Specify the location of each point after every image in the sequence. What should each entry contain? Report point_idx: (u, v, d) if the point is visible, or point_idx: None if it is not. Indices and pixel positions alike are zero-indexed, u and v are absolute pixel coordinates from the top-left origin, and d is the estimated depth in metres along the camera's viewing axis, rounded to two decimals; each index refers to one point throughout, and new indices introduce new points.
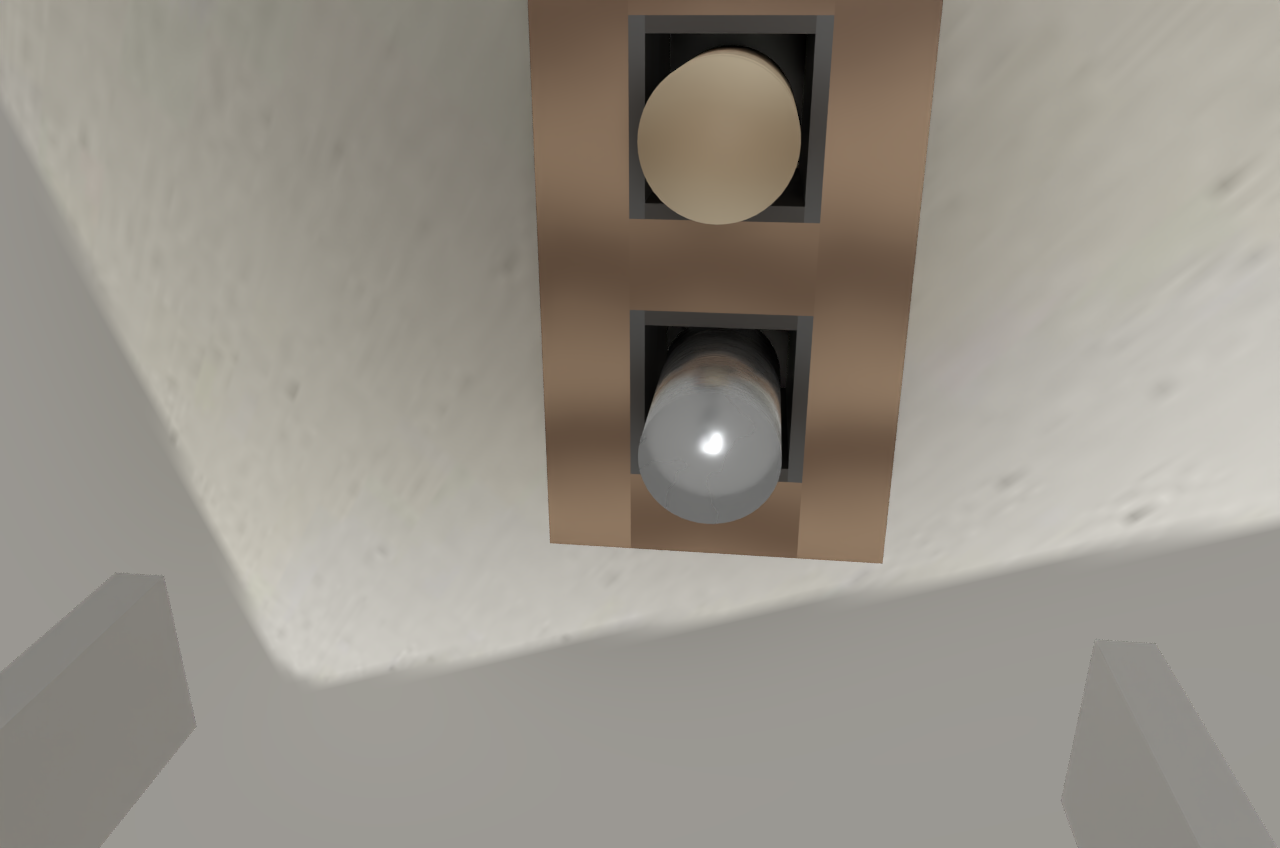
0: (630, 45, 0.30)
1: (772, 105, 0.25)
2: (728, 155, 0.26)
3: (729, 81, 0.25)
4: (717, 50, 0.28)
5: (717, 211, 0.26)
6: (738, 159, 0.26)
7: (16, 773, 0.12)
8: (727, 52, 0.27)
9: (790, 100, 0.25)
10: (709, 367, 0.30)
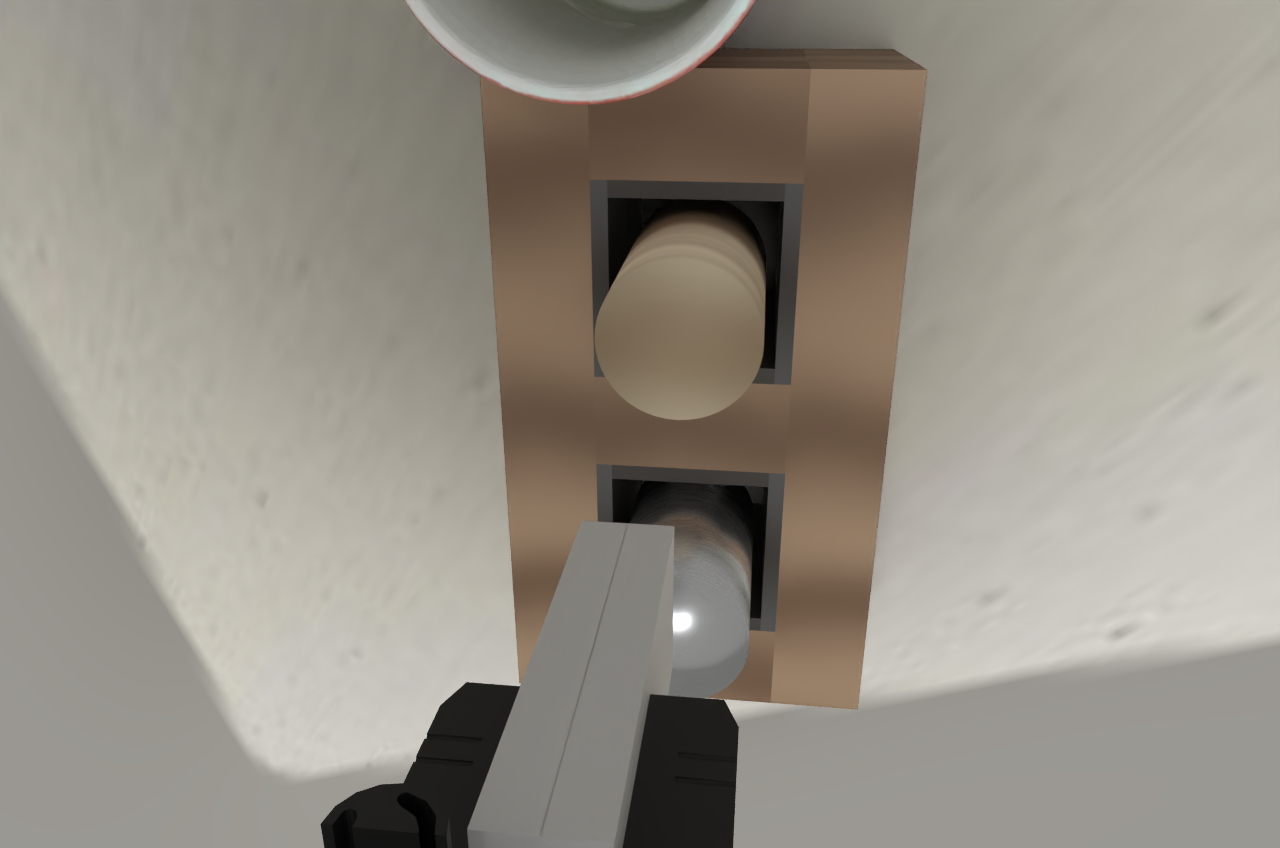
0: (592, 209, 0.29)
1: (734, 307, 0.24)
2: (689, 354, 0.25)
3: (689, 283, 0.24)
4: (681, 224, 0.27)
5: (678, 407, 0.25)
6: (699, 358, 0.25)
7: None
8: (689, 237, 0.26)
9: (752, 303, 0.24)
10: (676, 537, 0.30)
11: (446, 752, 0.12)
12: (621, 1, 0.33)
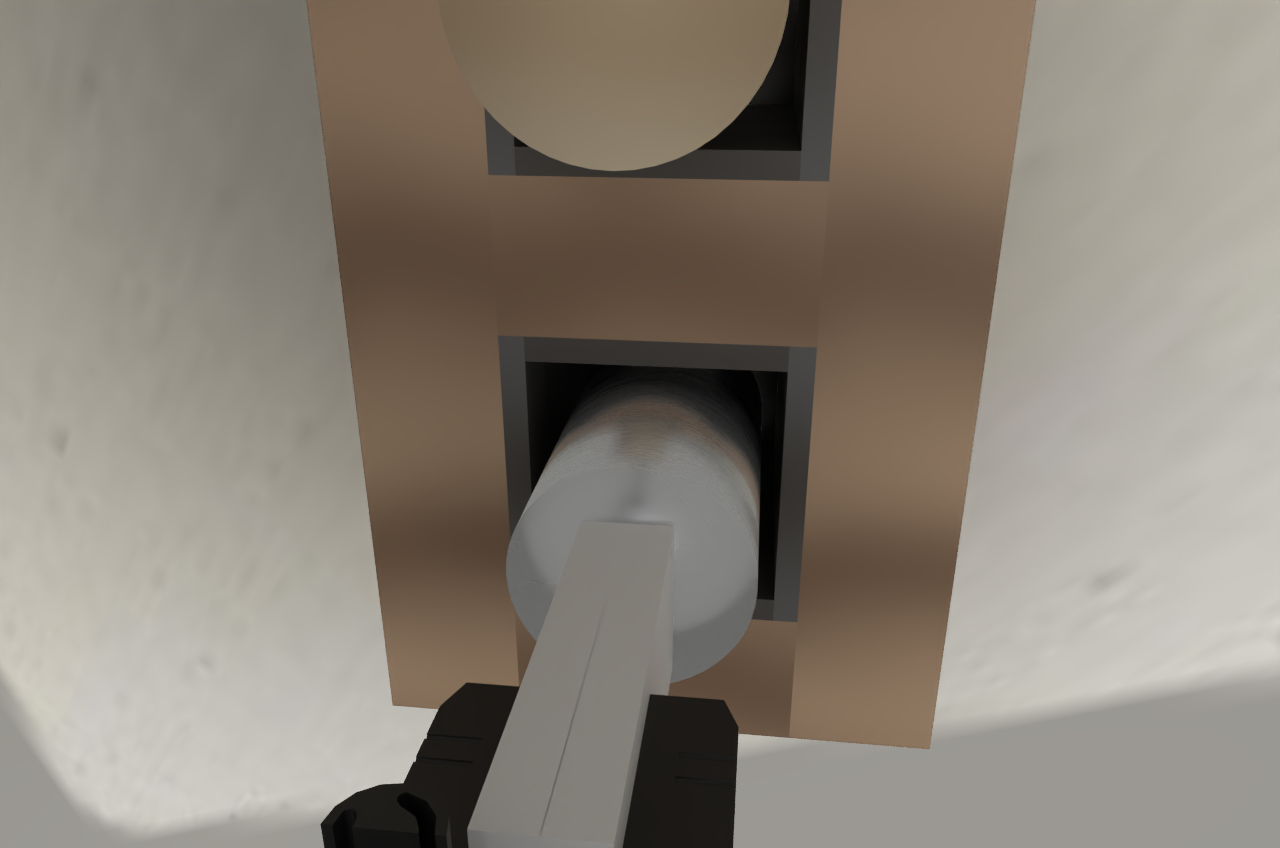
0: None
1: None
2: (633, 17, 0.12)
3: None
4: None
5: (614, 142, 0.12)
6: (655, 26, 0.12)
7: None
8: None
9: None
10: (636, 412, 0.18)
11: (446, 752, 0.12)
12: None
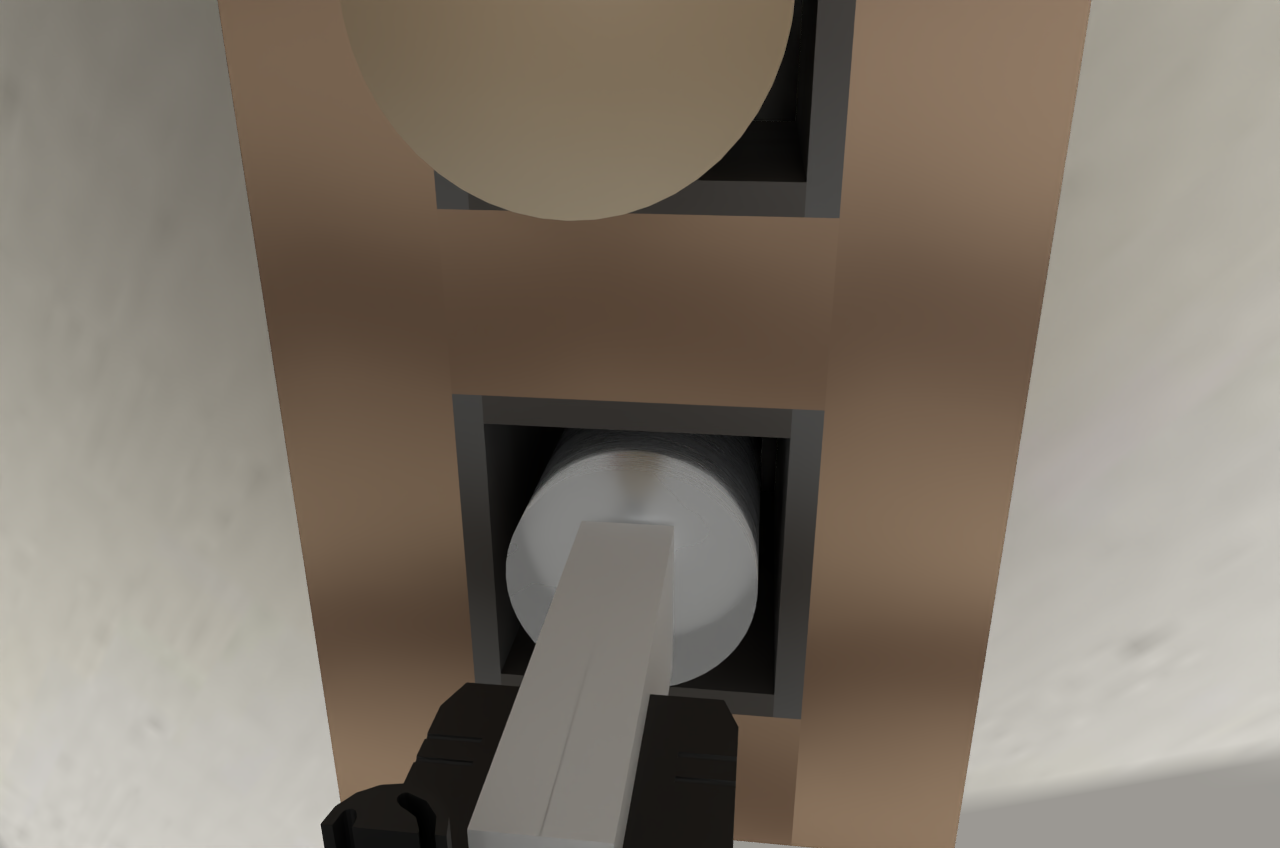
0: None
1: None
2: (591, 24, 0.09)
3: None
4: None
5: (570, 185, 0.10)
6: (620, 37, 0.09)
7: None
8: None
9: None
10: None
11: (446, 752, 0.12)
12: None
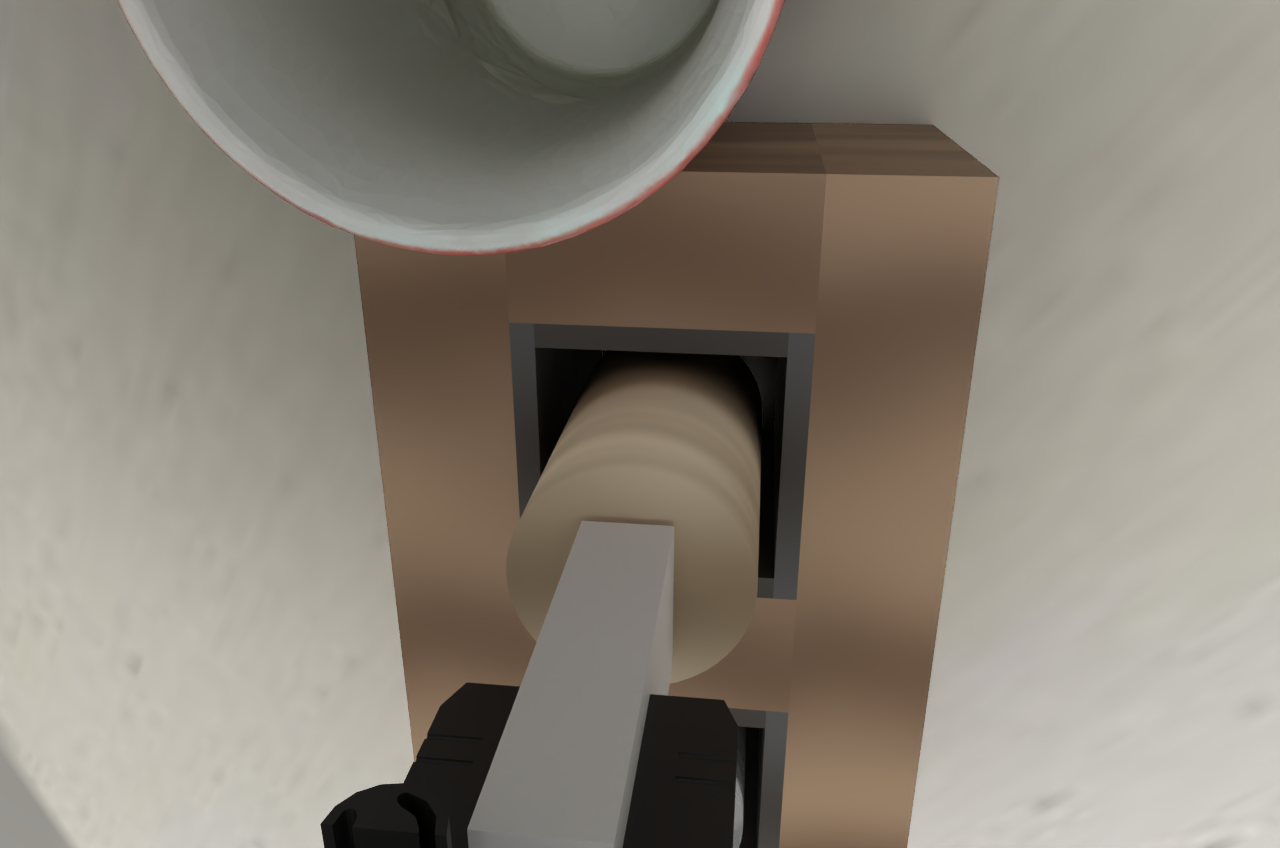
0: (514, 362, 0.20)
1: (712, 536, 0.16)
2: None
3: (644, 502, 0.16)
4: (641, 384, 0.19)
5: None
6: None
7: None
8: (649, 416, 0.18)
9: (740, 533, 0.16)
10: None
11: (446, 752, 0.12)
12: (567, 61, 0.24)
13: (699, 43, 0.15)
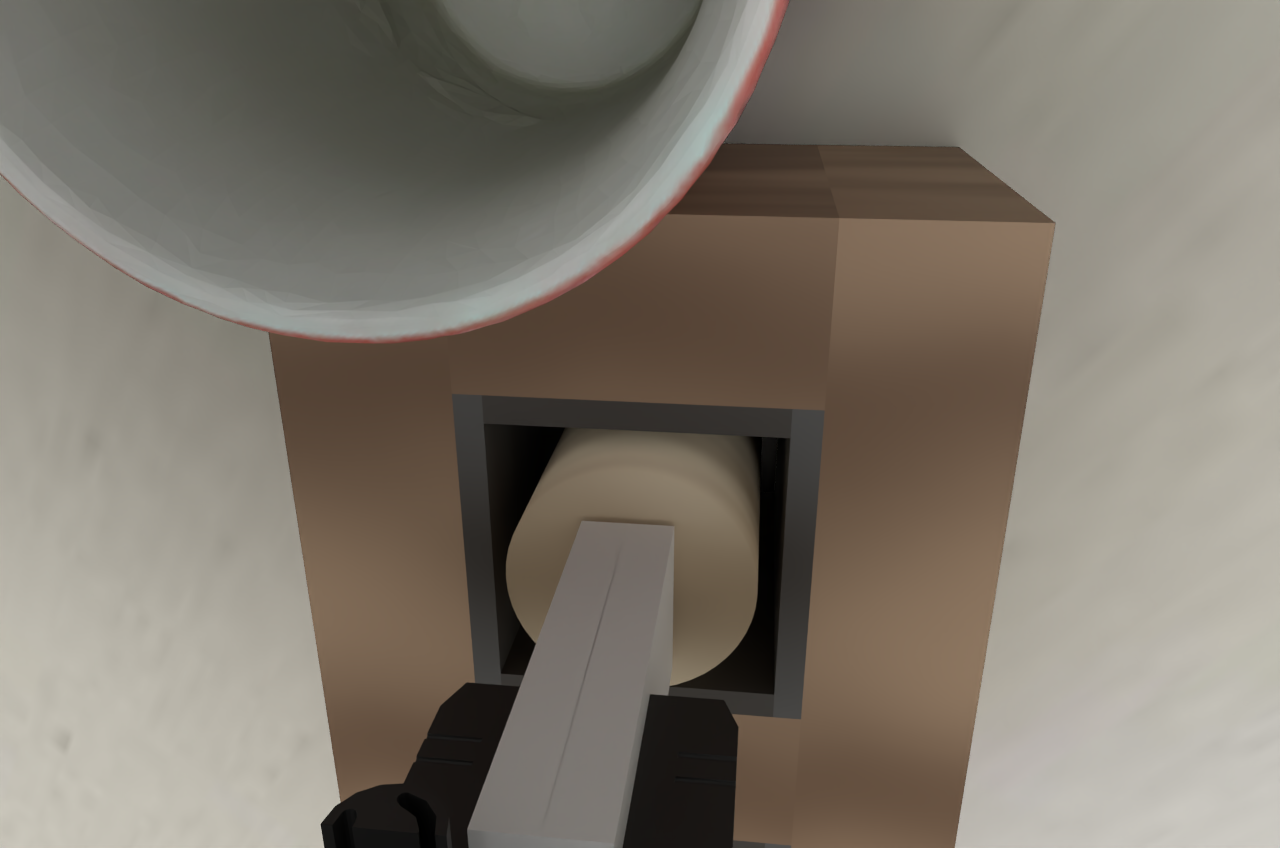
0: (459, 441, 0.17)
1: (713, 538, 0.16)
2: None
3: (644, 505, 0.16)
4: None
5: None
6: None
7: None
8: None
9: (740, 534, 0.16)
10: None
11: (446, 752, 0.12)
12: (532, 73, 0.21)
13: (677, 58, 0.12)
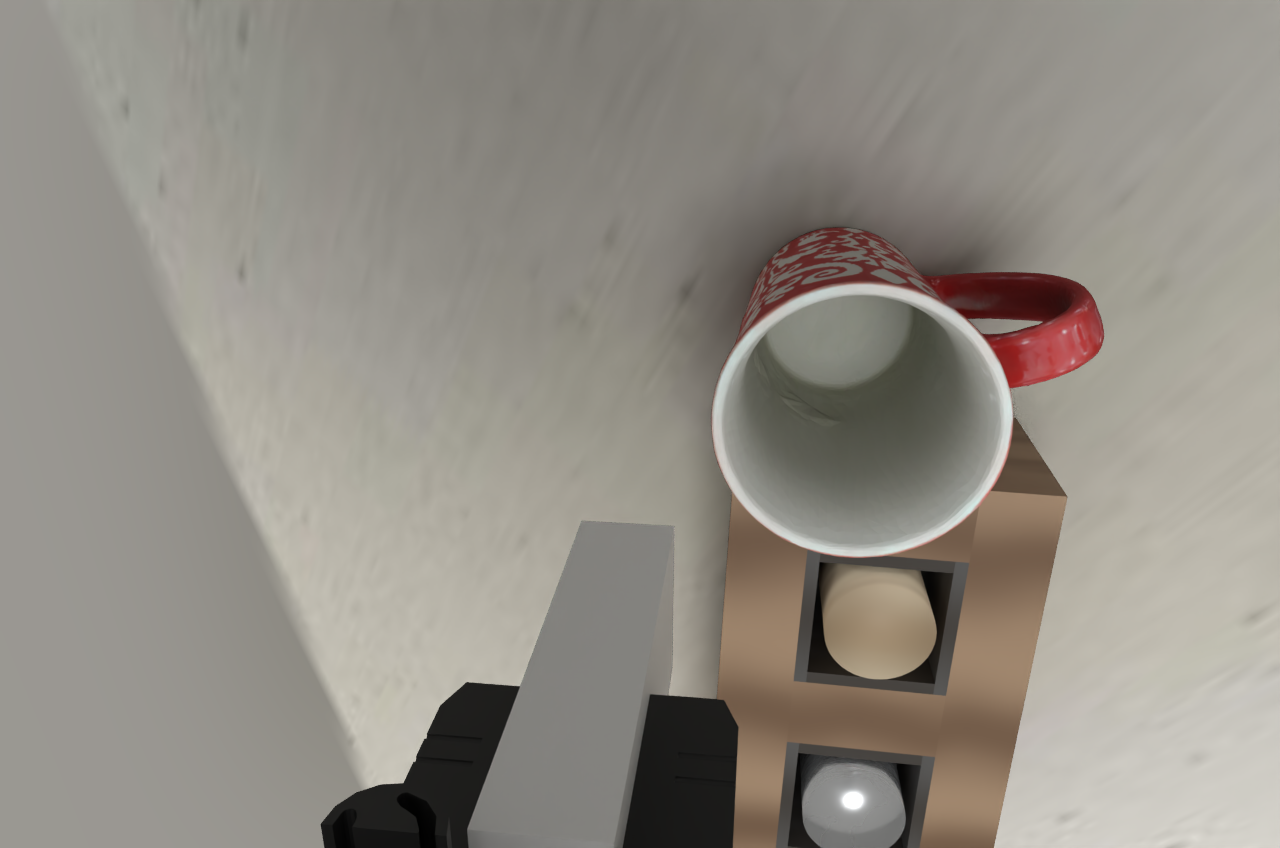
0: (807, 568, 0.38)
1: (919, 614, 0.38)
2: (886, 640, 0.38)
3: (891, 599, 0.38)
4: None
5: (875, 671, 0.39)
6: (892, 643, 0.38)
7: None
8: None
9: (931, 613, 0.38)
10: None
11: (446, 752, 0.12)
12: (810, 378, 0.43)
13: (939, 452, 0.33)
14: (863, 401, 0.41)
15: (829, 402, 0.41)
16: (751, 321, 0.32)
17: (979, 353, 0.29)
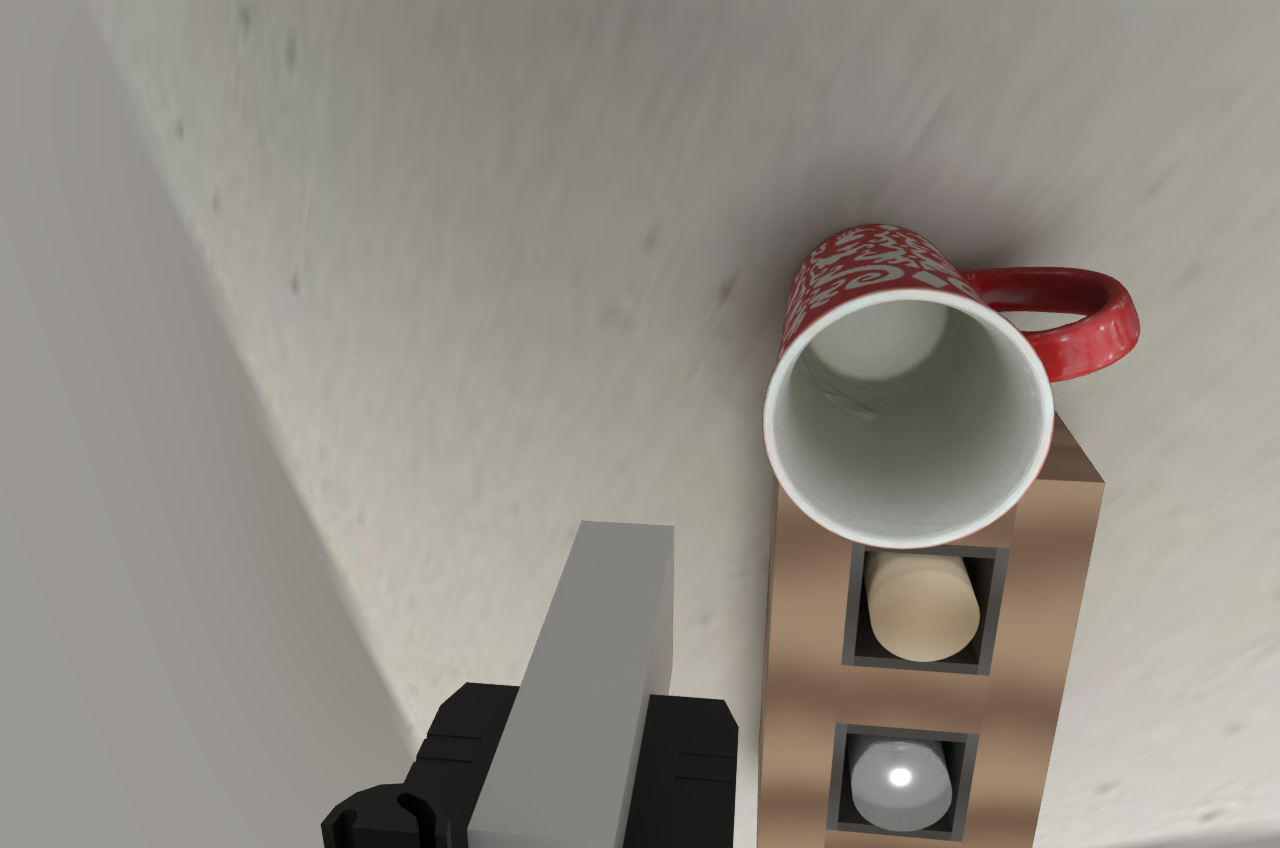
0: (852, 557, 0.40)
1: (962, 599, 0.39)
2: (931, 624, 0.40)
3: (935, 585, 0.39)
4: None
5: (920, 654, 0.40)
6: (937, 627, 0.40)
7: None
8: None
9: (974, 597, 0.39)
10: None
11: (446, 752, 0.12)
12: (849, 372, 0.44)
13: (981, 444, 0.35)
14: (902, 393, 0.42)
15: (869, 395, 0.43)
16: (797, 325, 0.33)
17: (1020, 352, 0.30)
